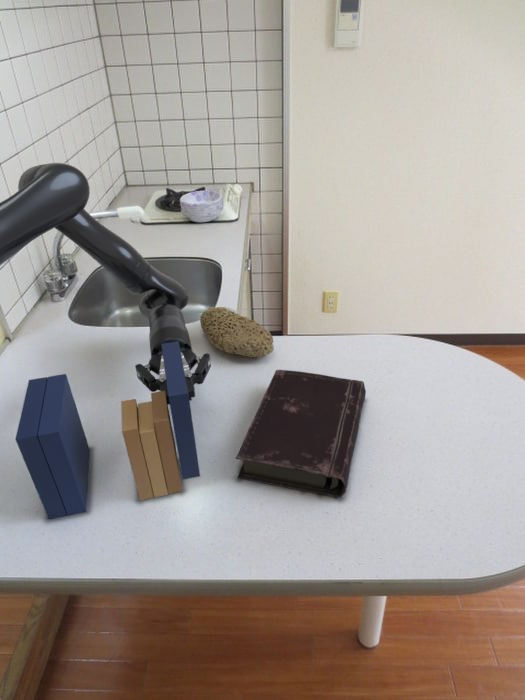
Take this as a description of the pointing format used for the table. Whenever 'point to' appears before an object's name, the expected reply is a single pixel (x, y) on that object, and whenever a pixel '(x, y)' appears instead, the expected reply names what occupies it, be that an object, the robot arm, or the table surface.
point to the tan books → (151, 446)
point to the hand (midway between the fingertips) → (178, 398)
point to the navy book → (180, 410)
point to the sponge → (235, 333)
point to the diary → (304, 433)
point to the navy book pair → (54, 446)
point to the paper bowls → (202, 205)
